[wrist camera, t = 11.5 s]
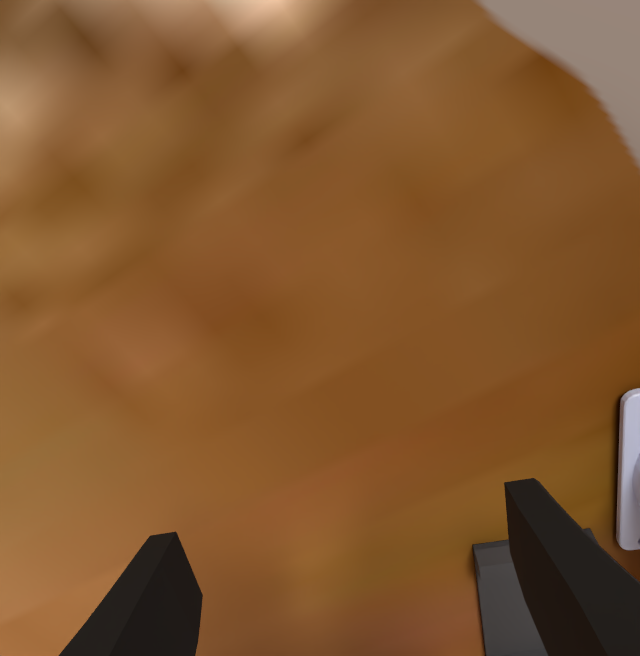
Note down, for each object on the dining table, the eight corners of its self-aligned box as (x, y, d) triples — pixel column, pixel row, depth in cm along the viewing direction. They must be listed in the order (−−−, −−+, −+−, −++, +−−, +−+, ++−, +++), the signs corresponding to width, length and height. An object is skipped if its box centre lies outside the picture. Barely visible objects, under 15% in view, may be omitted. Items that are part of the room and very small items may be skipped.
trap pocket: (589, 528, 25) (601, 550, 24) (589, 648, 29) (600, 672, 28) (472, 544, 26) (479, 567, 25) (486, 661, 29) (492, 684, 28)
